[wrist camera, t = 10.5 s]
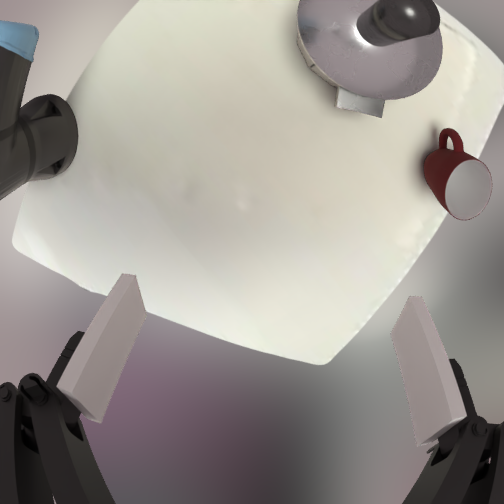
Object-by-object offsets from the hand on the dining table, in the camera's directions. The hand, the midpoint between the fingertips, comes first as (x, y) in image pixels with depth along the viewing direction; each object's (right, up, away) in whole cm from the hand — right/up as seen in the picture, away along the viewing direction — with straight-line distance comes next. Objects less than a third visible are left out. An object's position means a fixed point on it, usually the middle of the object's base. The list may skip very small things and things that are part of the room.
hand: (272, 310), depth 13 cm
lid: (+11, +25, +7) cm, 28 cm away
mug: (+25, +16, +20) cm, 36 cm away
